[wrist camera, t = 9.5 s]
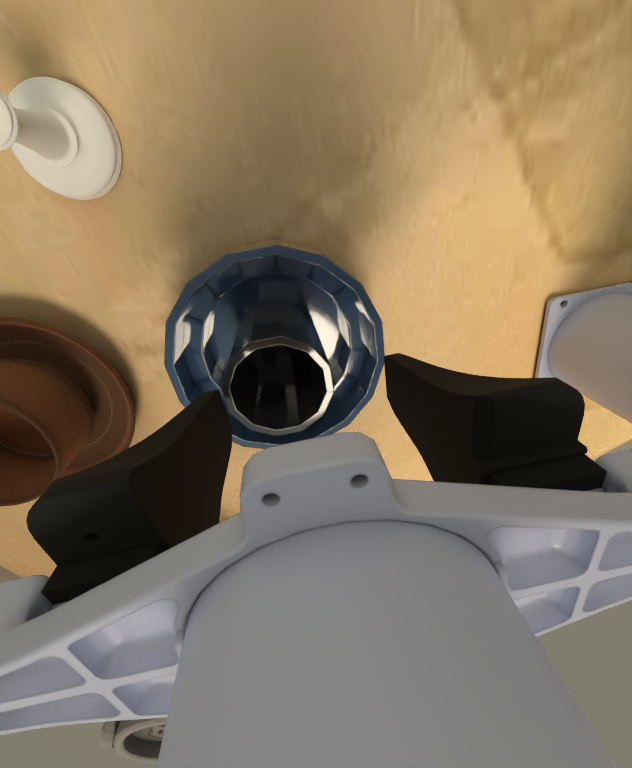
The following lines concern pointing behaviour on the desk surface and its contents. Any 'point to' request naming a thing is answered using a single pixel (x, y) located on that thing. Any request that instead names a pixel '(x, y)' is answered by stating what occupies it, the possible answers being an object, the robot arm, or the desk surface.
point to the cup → (277, 371)
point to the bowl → (266, 284)
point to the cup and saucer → (55, 409)
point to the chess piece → (61, 137)
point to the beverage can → (134, 738)
